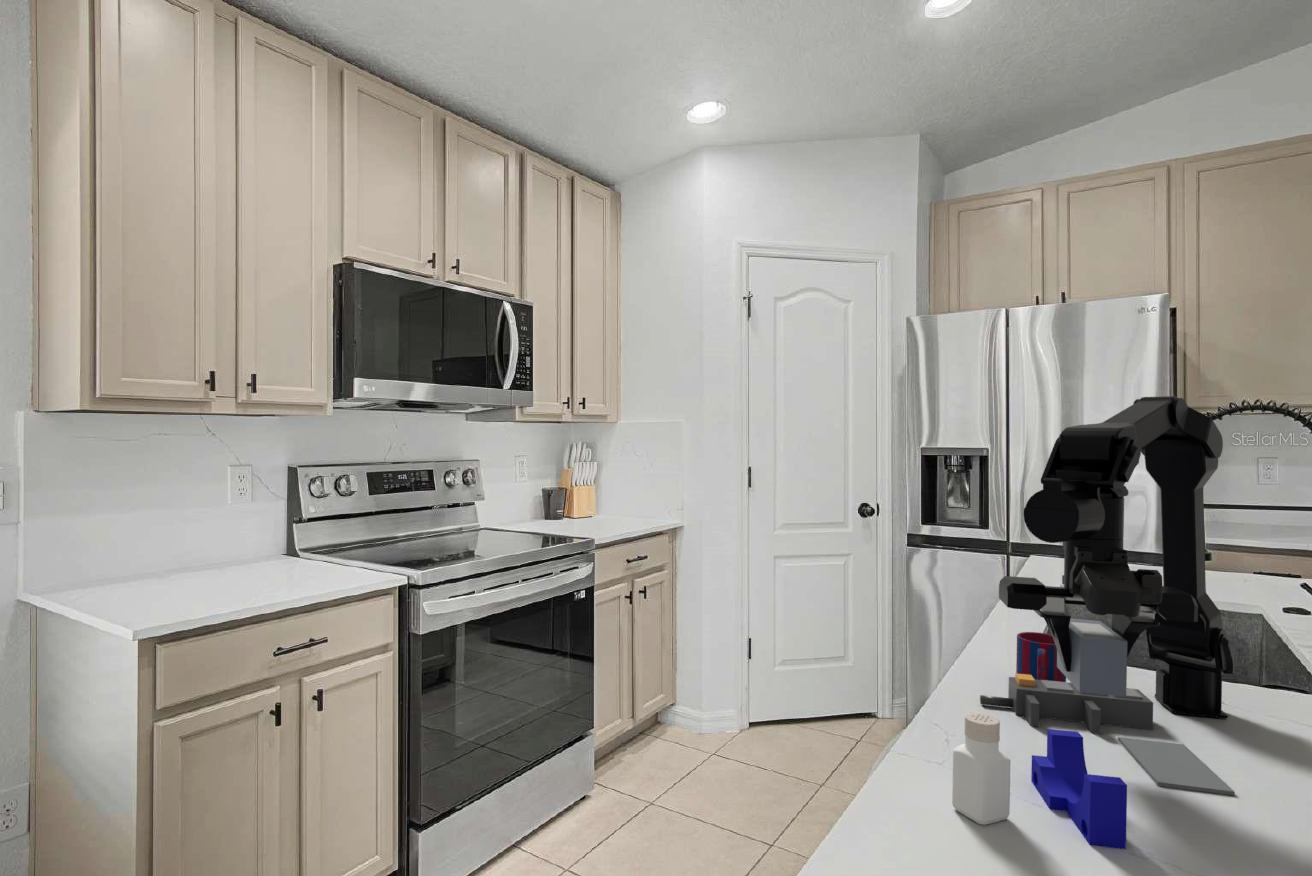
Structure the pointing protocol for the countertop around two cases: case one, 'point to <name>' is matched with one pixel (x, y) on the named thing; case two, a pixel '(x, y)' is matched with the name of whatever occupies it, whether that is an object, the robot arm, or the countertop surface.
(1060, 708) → the power strip
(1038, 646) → the mug
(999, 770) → the pepper shaker
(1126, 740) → the mat
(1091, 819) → the cable clip
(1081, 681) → the block
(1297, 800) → the countertop surface
